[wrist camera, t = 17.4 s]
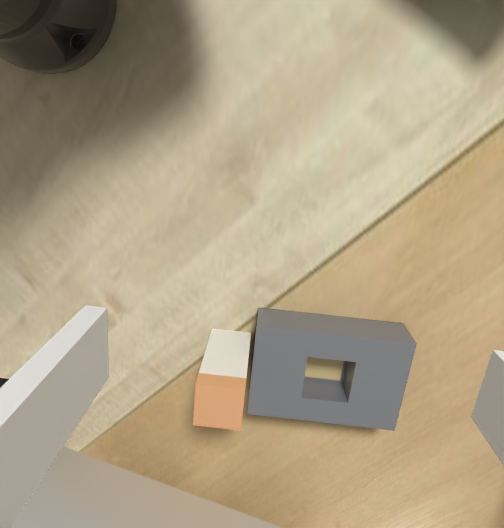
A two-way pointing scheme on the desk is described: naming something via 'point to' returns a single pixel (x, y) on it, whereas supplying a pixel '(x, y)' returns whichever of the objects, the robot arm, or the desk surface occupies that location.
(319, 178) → the desk surface
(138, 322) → the desk surface
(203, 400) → the plug
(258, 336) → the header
